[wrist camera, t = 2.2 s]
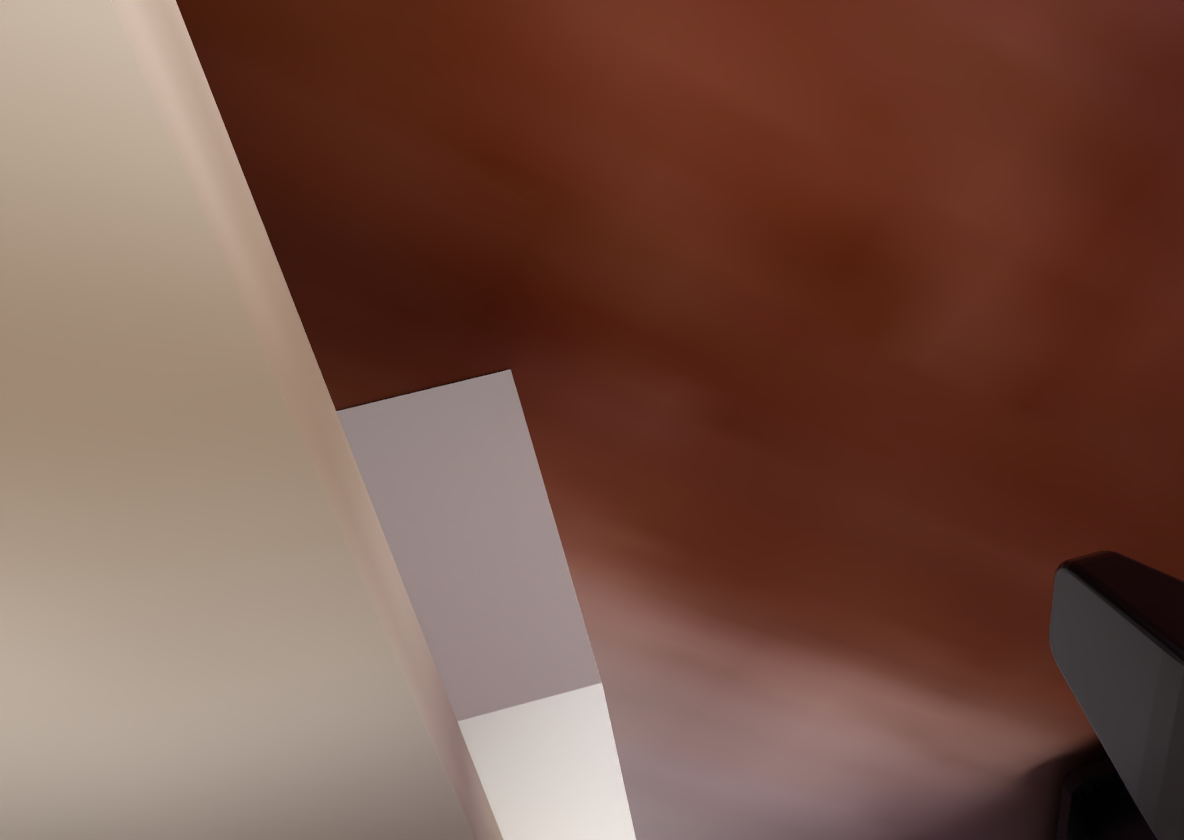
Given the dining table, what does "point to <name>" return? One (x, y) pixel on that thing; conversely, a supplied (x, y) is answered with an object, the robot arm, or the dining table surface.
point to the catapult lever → (182, 487)
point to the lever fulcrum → (495, 602)
